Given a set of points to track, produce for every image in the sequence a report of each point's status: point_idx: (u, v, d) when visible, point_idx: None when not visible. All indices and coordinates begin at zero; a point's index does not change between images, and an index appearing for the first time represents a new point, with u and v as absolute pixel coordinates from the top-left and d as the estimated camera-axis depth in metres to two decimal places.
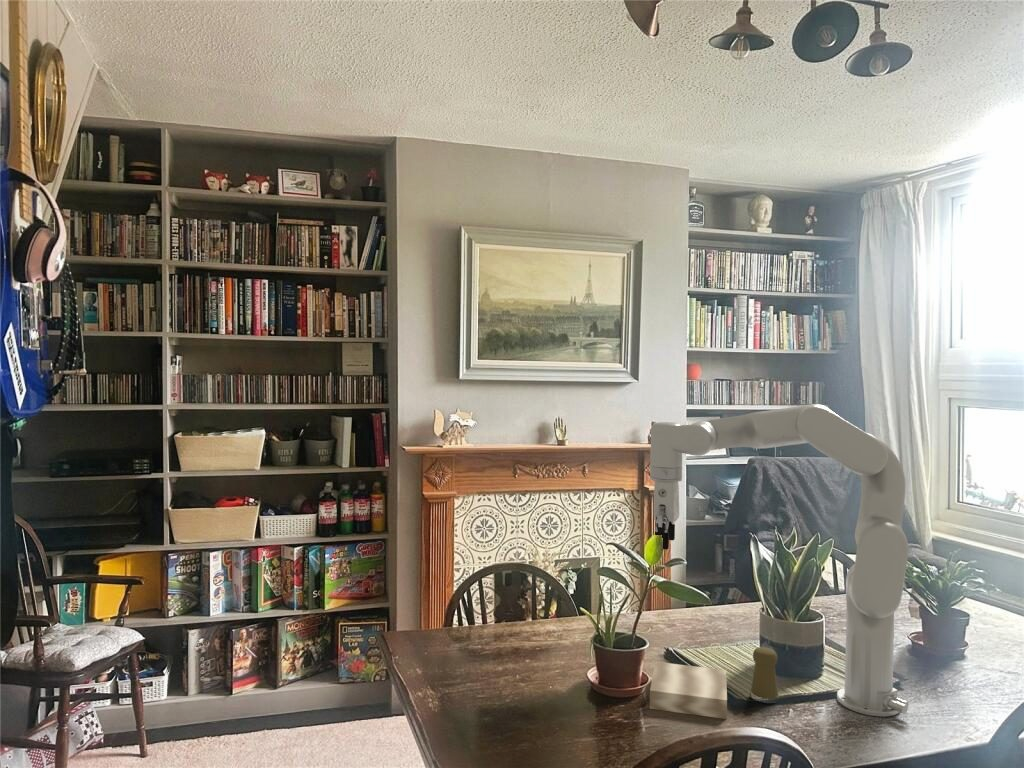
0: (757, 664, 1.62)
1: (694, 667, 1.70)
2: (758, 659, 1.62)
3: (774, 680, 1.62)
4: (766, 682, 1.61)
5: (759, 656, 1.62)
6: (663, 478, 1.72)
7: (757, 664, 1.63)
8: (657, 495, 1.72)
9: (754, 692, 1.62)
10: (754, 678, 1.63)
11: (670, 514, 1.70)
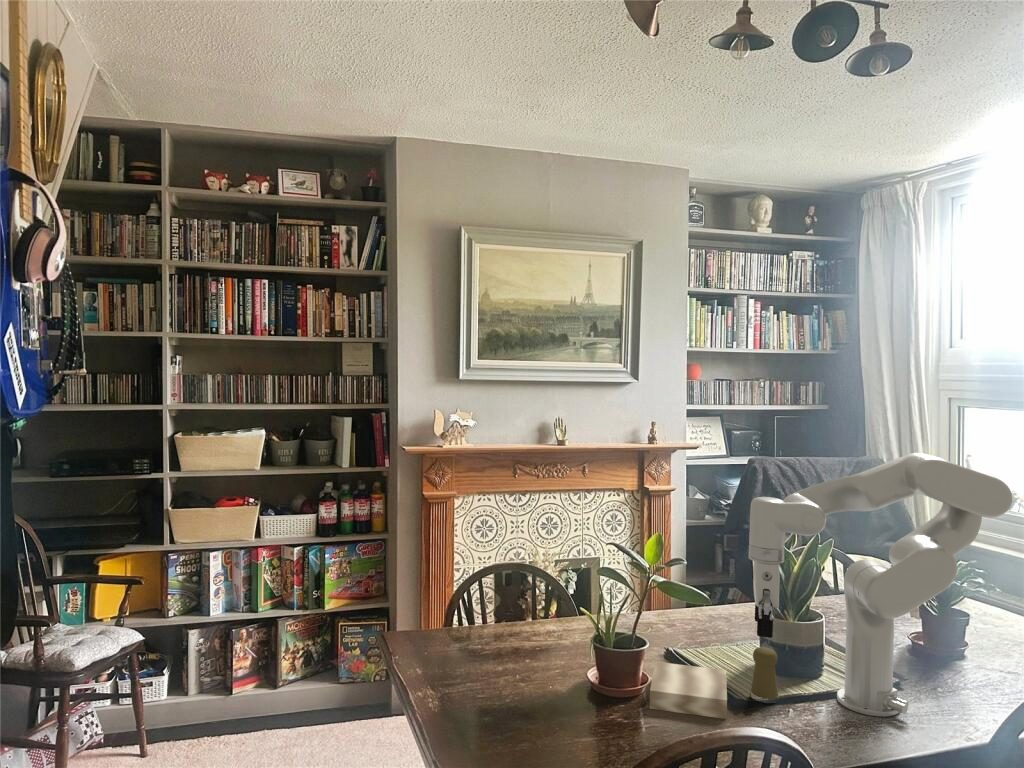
0: (757, 664, 1.62)
1: (694, 667, 1.70)
2: (758, 659, 1.62)
3: (774, 680, 1.62)
4: (766, 682, 1.61)
5: (759, 656, 1.62)
6: (767, 560, 1.59)
7: (757, 664, 1.63)
8: (761, 578, 1.59)
9: (754, 692, 1.62)
10: (754, 678, 1.63)
11: (775, 600, 1.58)
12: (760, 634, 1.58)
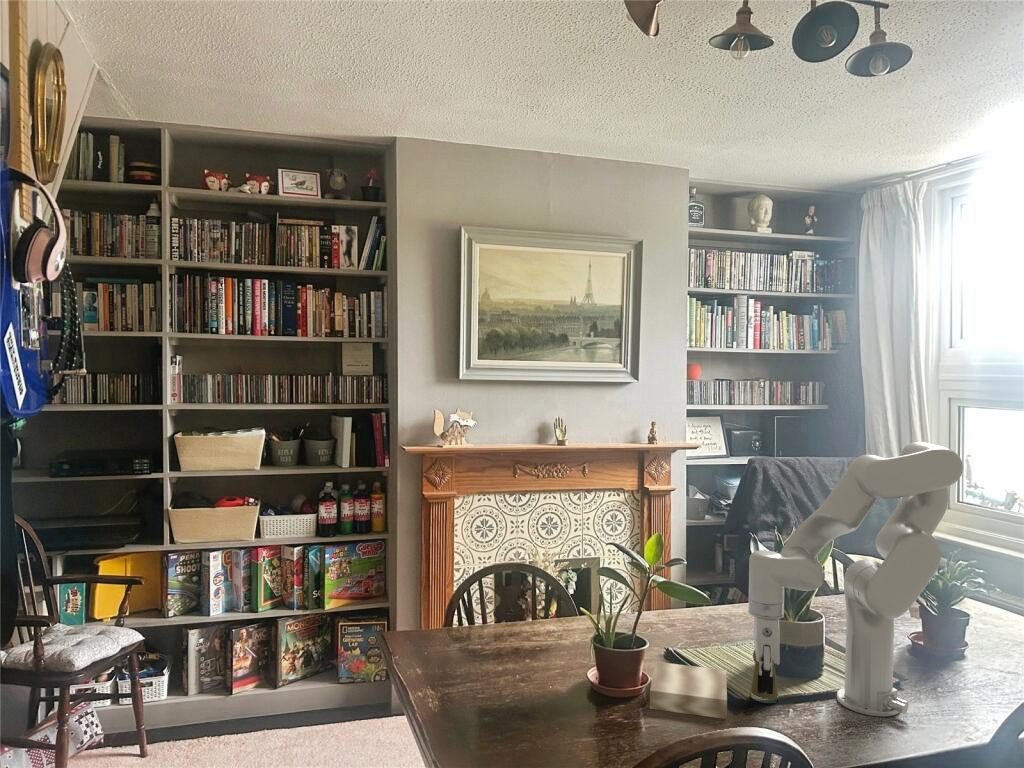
0: (757, 664, 1.62)
1: (694, 667, 1.70)
2: None
3: (774, 680, 1.62)
4: None
5: None
6: (766, 615, 1.59)
7: (757, 664, 1.63)
8: (761, 634, 1.59)
9: (754, 692, 1.62)
10: (754, 678, 1.63)
11: (776, 655, 1.58)
12: (761, 690, 1.61)
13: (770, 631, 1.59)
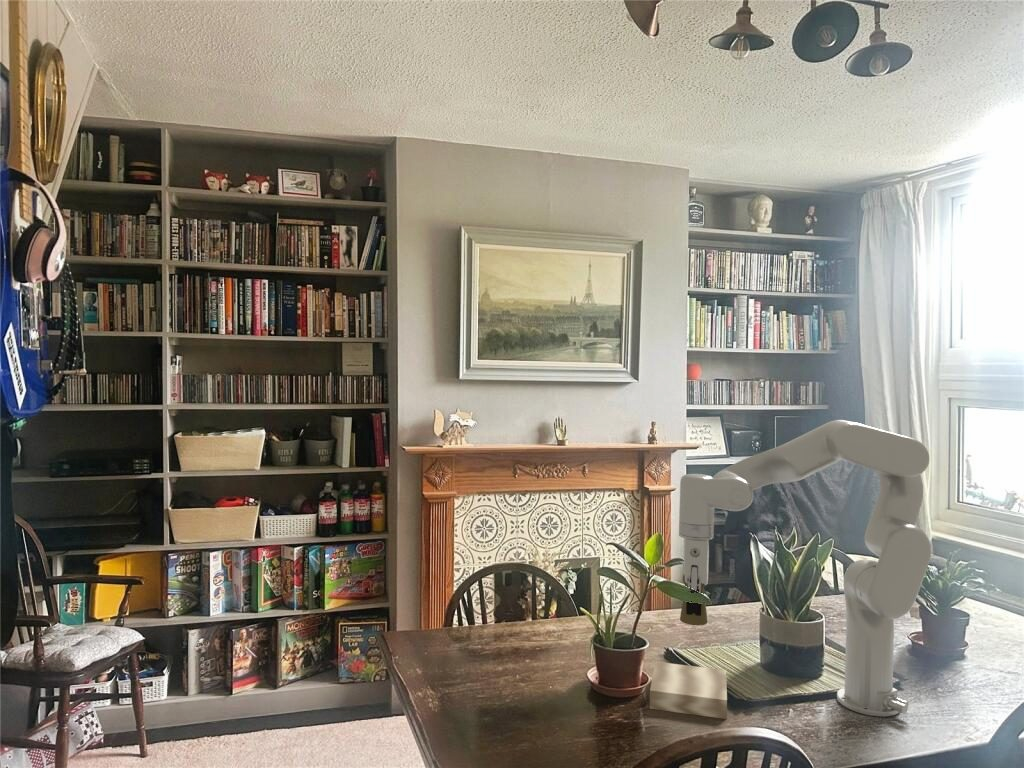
0: None
1: (694, 667, 1.70)
2: None
3: None
4: None
5: None
6: (695, 536, 1.59)
7: None
8: (689, 555, 1.58)
9: (683, 614, 1.62)
10: None
11: (703, 576, 1.57)
12: (689, 612, 1.60)
13: (698, 552, 1.59)
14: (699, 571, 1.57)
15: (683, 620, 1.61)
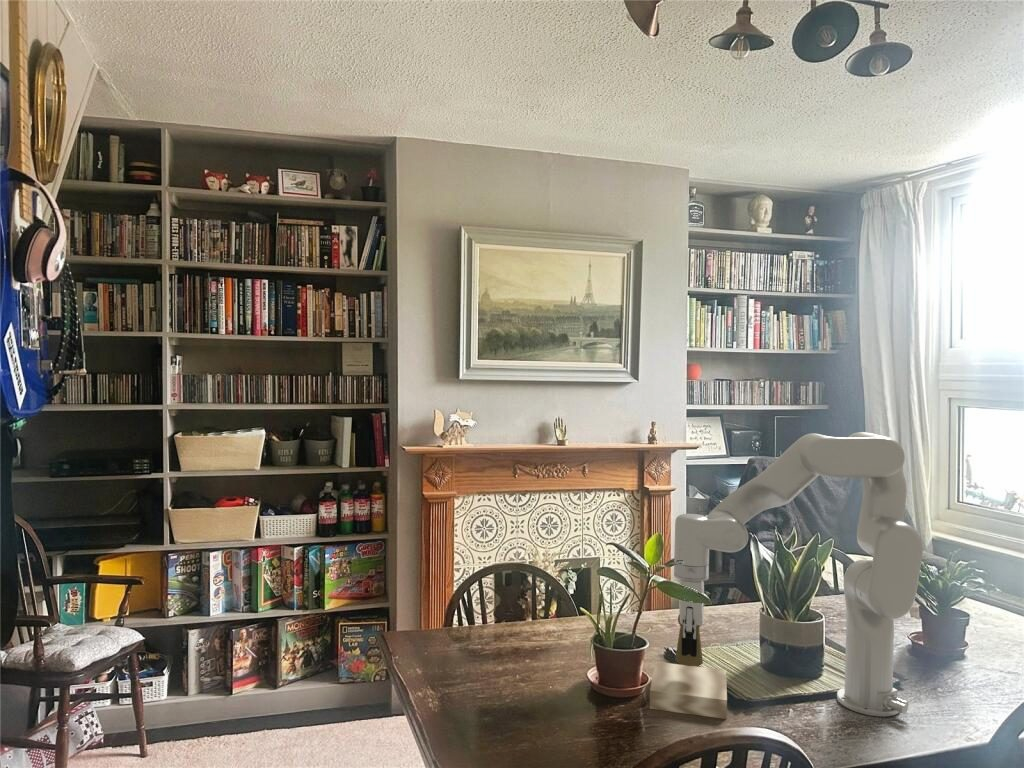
0: (682, 627, 1.62)
1: (694, 667, 1.70)
2: None
3: (698, 643, 1.61)
4: None
5: None
6: (690, 577, 1.59)
7: (681, 627, 1.62)
8: None
9: (678, 655, 1.62)
10: (679, 641, 1.63)
11: (698, 617, 1.57)
12: (684, 653, 1.60)
13: None
14: (694, 613, 1.57)
15: (678, 661, 1.62)
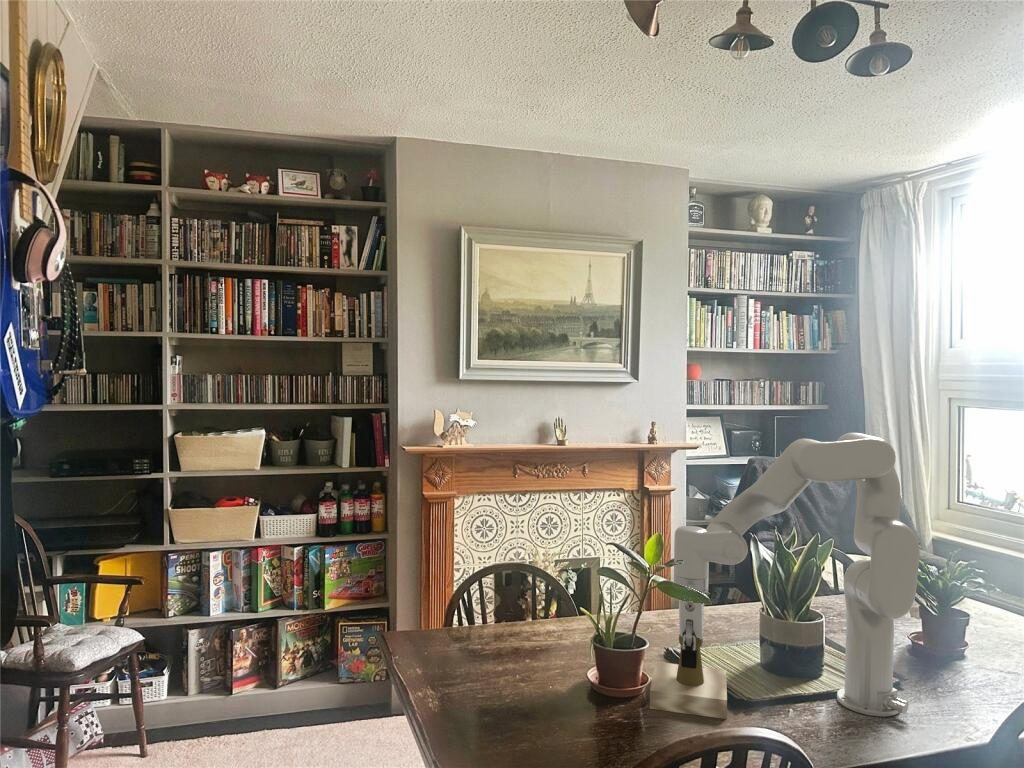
0: None
1: None
2: None
3: (699, 662, 1.61)
4: None
5: None
6: None
7: (682, 646, 1.62)
8: (684, 609, 1.58)
9: (679, 674, 1.62)
10: (680, 660, 1.62)
11: (698, 630, 1.57)
12: (684, 665, 1.58)
13: (693, 606, 1.59)
14: (694, 625, 1.57)
15: (679, 680, 1.61)
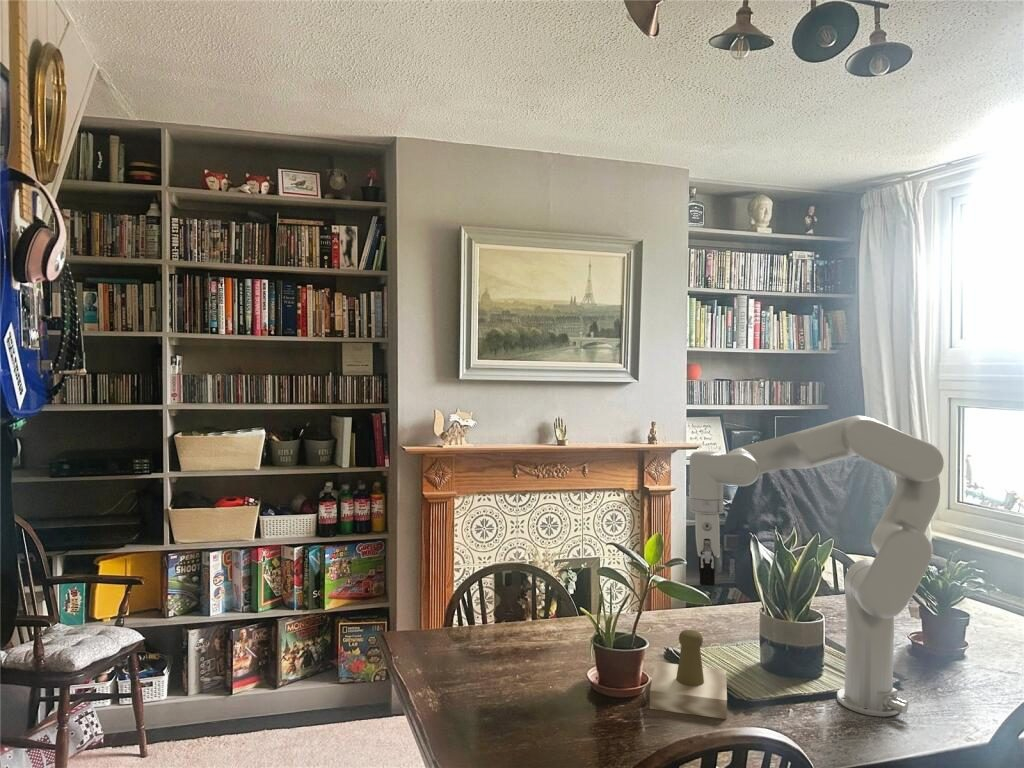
0: (683, 647, 1.62)
1: None
2: (683, 642, 1.61)
3: (699, 662, 1.61)
4: (690, 664, 1.60)
5: (683, 638, 1.61)
6: (706, 511, 1.64)
7: (682, 646, 1.62)
8: (701, 529, 1.64)
9: (679, 674, 1.62)
10: (680, 660, 1.62)
11: (716, 548, 1.63)
12: (703, 583, 1.63)
13: (710, 526, 1.64)
14: (711, 544, 1.63)
15: (679, 680, 1.61)
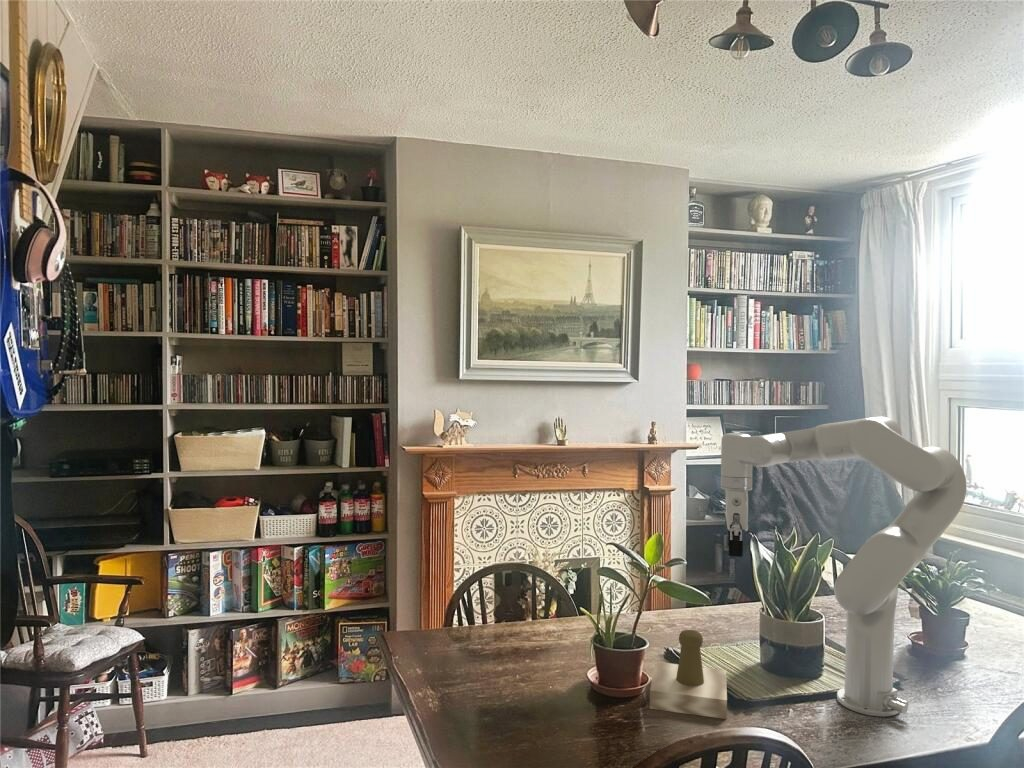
0: (683, 647, 1.62)
1: None
2: (683, 642, 1.61)
3: (699, 662, 1.61)
4: (690, 664, 1.60)
5: (683, 638, 1.61)
6: (736, 487, 1.78)
7: (682, 646, 1.62)
8: (731, 504, 1.77)
9: (679, 674, 1.62)
10: (680, 660, 1.62)
11: (744, 522, 1.76)
12: (731, 554, 1.77)
13: (739, 501, 1.77)
14: (740, 518, 1.76)
15: (679, 680, 1.61)
